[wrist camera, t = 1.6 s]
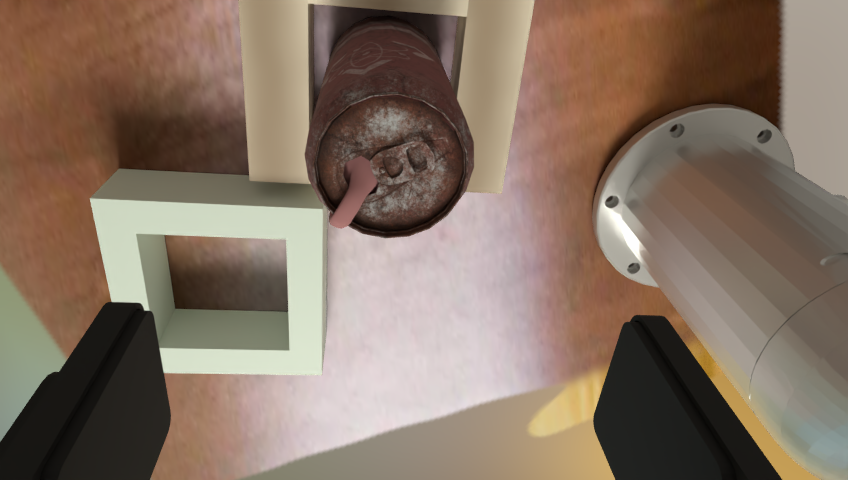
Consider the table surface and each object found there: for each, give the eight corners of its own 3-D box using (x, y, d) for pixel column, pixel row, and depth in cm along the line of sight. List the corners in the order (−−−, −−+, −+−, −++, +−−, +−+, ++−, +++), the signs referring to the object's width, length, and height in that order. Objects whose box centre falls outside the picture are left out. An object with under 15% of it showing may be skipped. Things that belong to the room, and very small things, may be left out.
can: (306, 92, 32) (267, 203, 20) (366, -10, 30) (361, 46, 18) (397, 148, 34) (411, 278, 22) (460, 56, 32) (513, 146, 20)
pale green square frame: (327, 179, 35) (322, 208, 32) (326, 335, 41) (321, 375, 38) (118, 168, 34) (89, 198, 30) (148, 331, 40) (126, 372, 36)
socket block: (523, -22, 30) (537, -16, 28) (492, 172, 36) (501, 193, 33) (248, -48, 29) (235, -43, 26) (258, 160, 34) (249, 181, 32)
